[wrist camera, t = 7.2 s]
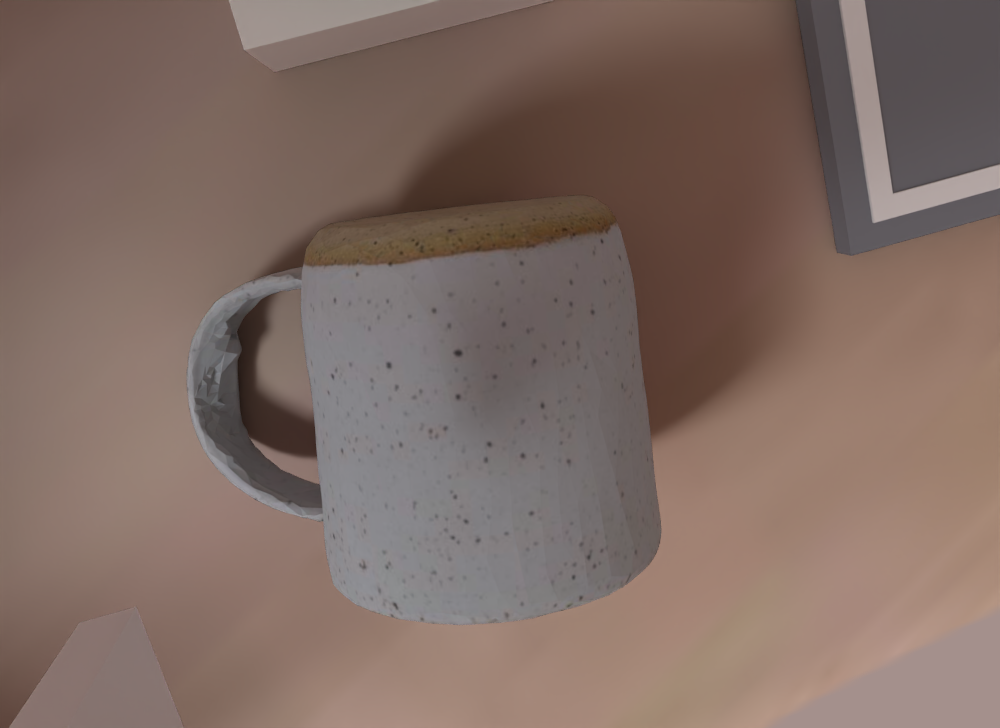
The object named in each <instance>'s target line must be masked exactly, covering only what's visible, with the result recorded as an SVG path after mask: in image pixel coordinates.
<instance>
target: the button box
mask: <svg viewBox="0 0 1000 728" xmlns="http://www.w3.org/2000/svg"><path fill="white" fill-rule="evenodd" d="M550 1H553V0H229V3H230V7H231V10H232V13H233V16H234V20H235V23H236V26H237V29H238V32H239V36H240V39H241V42H242V45H243V49H244V51H246V52H247V53H248V54H250V55H251V56H253V57H254V58H255V59H257V60H258V61H260V62H261V63H262V64H264V65H265V66H267V67H268V68H270V69H271V70H272V71H274V72H277V71H281V70H285V69H289V68H293V67H297V66H301V65H305V64H309V63H312V62H316V61H320V60H324V59H328V58H332V57H336V56H340V55H344V54H347V53H351V52H355V51H359V50H363V49H367V48H371V47H375V46H379V45H382V44H386V43H390V42H394V41H398V40H402V39H406V38H410V37H414V36H417V35H421V34H425V33H429V32H433V31H437V30H441V29H445V28H449V27H452V26H456V25H460V24H464V23H468V22H472V21H476V20H480V19H484V18H487V17H491V16H495V15H499V14H503V13H507V12H511V11H515V10H519V9H522V8H526V7H530V6H534V5H538V4H542V3H546V2H550Z"/></svg>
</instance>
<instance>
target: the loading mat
mask: <svg viewBox="0 0 1000 728" xmlns="http://www.w3.org/2000/svg"><path fill="white" fill-rule="evenodd" d="M796 6H797V12H798V18H799V24H800V30H801V36H802V42H803V48H804V55H805V61H806V67H807V73H808V79H809V85H810V91H811V97H812V103H813V110H814V116H815V122H816V128H817V134H818V140H819V146H820V152H821V158H822V164H823V171H824V177H825V183H826V189H827V195H828V201H829V207H830V213H831V219H832V226H833V232H834V238H835V244H836V250H837V253H841V254H846V255H850V256H852V255H856V254H859V253H863V252H867V251H870V250H874V249H877V248H881V247H885V246H888V245H892V244H895V243H899V242H902V241H906V240H910V239H913V238H917V237H920V236H924V235H928V234H931V233H935V232H938V231H942V230H946V229H949V228H953V227H956V226H960V225H963V224H967V223H971V222H974V221H978V220H981V219H985V218H989V217H992V216H996V215H999V214H1000V0H796Z"/></svg>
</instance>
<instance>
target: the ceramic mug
mask: <svg viewBox="0 0 1000 728" xmlns="http://www.w3.org/2000/svg"><path fill="white" fill-rule="evenodd" d="M294 289H301V319H302V328H303V338H304V347H305V357H306V363H307V368H308V373H309V379H310V385H311V393H312V401H313V411H314V421H315V435H316V449H317V461H318V473H319V481H320V485H319V484H315V483H312V482H309V481H306V480H303V479H301V478H299V477H297V476H294V475H292V474H290V473H287V472H285V471H283V470H281V469H280V468H278V467H277V466H276V465H275V464H274V463H273V462H271V461H270V460H269V459H267V458H266V457H265V456H264V455H263V454H262V453H261V451H260V450H259V449H257V448H256V447H255V446H254V444H253V443H252V441H251V439H250V438H249V436H248V431H247V429H246V428H245V426H244V425H243V423H242V417H241V413H240V401H239V386H238V372H237V371H238V358H239V356H240V353H241V351H242V348H241V344H240V341H239V337H238V334H237V330H238V328H239V326H240V324H241V322H242V320H243V318H244V316H245V315H246V314H247V313H249V312H250V311H251V310H252V309H253V308H254V307H255V306H256V304H257V303H258V302H259V301H260V300H261V299H262V298H264V297H266V296H268V295H271V294H274V293H278V292H279V291H281V290H284V291H289V290H294ZM187 393H188V401H189V409H190V413H191V418H192V422H193V425H194V428H195V431H196V434H197V437H198V439H199V441H200V443H201V445H202V447H203V449H204V451H205V452H206V454H207V456H208V458H209V459H210V460H211V461H212V463H213V464H214V465H215V467H216V468H217V469H218V470H219V471H220V472H221V473H222V474H223V475H224V476H225V477H226V478H227V479H228V480H229V481H230V482H231V483H232V484H234V485H235V486H236V487H237V488H239V489H240V490H242V491H243V492H245V493H246V494H248V495H249V496H251V497H252V498H254V499H255V500H257V501H259V502H261V503H263V504H265V505H268V506H270V507H272V508H274V509H276V510H279V511H282V512H285V513H289V514H293V515H296V516H299V517H302V518H309V519H312V520H315V521H319V522H320V521H324V535H325V548H326V554H327V560H328V564H329V568H330V573H331V577H332V581H333V584H334V585H335V587H336V588H337V589H338V590H339V591H340V592H341V593H342V594H343V595H344V596H345V597H347V598H348V599H349V600H351V601H352V602H353V603H355V604H356V605H358V606H360V607H363V608H365V609H367V610H369V611H372V612H375V613H379V614H382V615H386V616H389V617H393V618H396V619H402V620H410V621H418V622H425V623H433V624H453V625H472V624H486V623H501V622H510V621H518V620H524V619H531V618H535V617H539V616H542V615H546V614H549V613H553V612H558V611H563V610H566V609H570V608H574V607H578V606H581V605H583V604H586V603H589V602H591V601H594V600H597V599H599V598H602V597H605V596H608V595H610V594H611V593H613V592H615V591H616V590H618V589H620V588H622V587H624V586H625V585H626V584H628V583H629V582H630V581H631V580H633V579H634V578H635V577H636V576H637V575H639V574H640V573H641V572H642V571H643V570H644V569H645V568H646V567H647V566H648V565H649V564H650V562H651V561H652V560H653V558H654V556H655V554H656V552H657V550H658V547H659V544H660V538H661V520H660V513H659V506H658V499H657V491H656V484H655V475H654V465H653V454H652V443H651V434H650V424H649V415H648V406H647V398H646V392H645V385H644V379H643V371H642V362H641V354H640V344H639V331H638V318H637V307H636V296H635V289H634V281H633V277H632V272H631V268H630V264H629V260H628V256H627V252H626V249H625V245H624V241H623V238H622V234H621V231H620V228H619V226H618V223H617V221H616V218H615V216H614V215H613V214H612V212H611V211H610V210H609V208H608V207H607V206H606V205H604V204H603V203H601V202H600V201H598V200H597V199H595V198H594V197H591V196H585V195H571V196H557V197H546V198H537V199H527V200H517V201H507V202H496V203H486V204H476V205H467V206H459V207H450V208H442V209H434V210H426V211H417V212H408V213H400V214H393V215H386V216H378V217H370V218H362V219H356V220H351V221H345V222H338V223H333V224H329V225H327V226H326V227H324V228H322V229H321V230H319V231H318V232H317V234H316V235H315V236H314V238H313V239H312V241H311V242H310V244H309V245H308V247H307V248H306V252H305V258H304V264H303V267H298V268H293V269H289V270H285V271H281V272H277V273H273V274H270V275H267V276H263V277H260V278H257V279H255V280H252V281H249V282H247V283H245V284H243V285H241V286H239V287H237V288H236V289H234V290H232V291H231V292H229V293H227V294H225V295H224V296H222V297H221V298H220V299H219V300H217V301H216V302H215V303H214V304H213V306H212V307H211V308H210V310H209V311H208V312H207V314H206V315H205V317H204V318H203V319H202V321H201V323H200V325H199V327H198V329H197V331H196V333H195V335H194V337H193V339H192V343H191V348H190V352H189V357H188V368H187Z"/></svg>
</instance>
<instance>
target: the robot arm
mask: <svg viewBox="0 0 1000 728" xmlns="http://www.w3.org/2000/svg"><path fill="white" fill-rule="evenodd" d="M9 728H184V727H183V724H182V721H181V719H180V716H179V714H178V711H177V709H176V706H175V704H174V701H173V699H172V696H171V694H170V691H169V688H168V686H167V683H166V681H165V678H164V676H163V673H162V671H161V668H160V666H159V663H158V660H157V658H156V655H155V653H154V650H153V648H152V645H151V643H150V640H149V638H148V635H147V633H146V630H145V627H144V625H143V622H142V620H141V617H140V615H139V612H138V610H137V607H133V608H129V609H126V610H122V611H119V612H115V613H112V614H108V615H105V616H101V617H98V618H94V619H91V620H87V621H83V622H80V623H79V624H78V625H77V627H76V628H75V630H74V631H73V633H72V634H71V636H70V637H69V639H68V640H67V642H66V643H65V645H64V646H63V648H62V649H61V651H60V652H59V654H58V655H57V657H56V658H55V660H54V661H53V663H52V664H51V666H50V667H49V669H48V670H47V672H46V673H45V675H44V676H43V677H42V679H41V680H40V682H39V683H38V685H37V686H36V688H35V689H34V691H33V692H32V694H31V695H30V697H29V698H28V700H27V701H26V703H25V704H24V706H23V707H22V709H21V710H20V712H19V713H18V715H17V716H16V718H15V719H14V721H13V722H12V724H11V725H10V727H9Z"/></svg>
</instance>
